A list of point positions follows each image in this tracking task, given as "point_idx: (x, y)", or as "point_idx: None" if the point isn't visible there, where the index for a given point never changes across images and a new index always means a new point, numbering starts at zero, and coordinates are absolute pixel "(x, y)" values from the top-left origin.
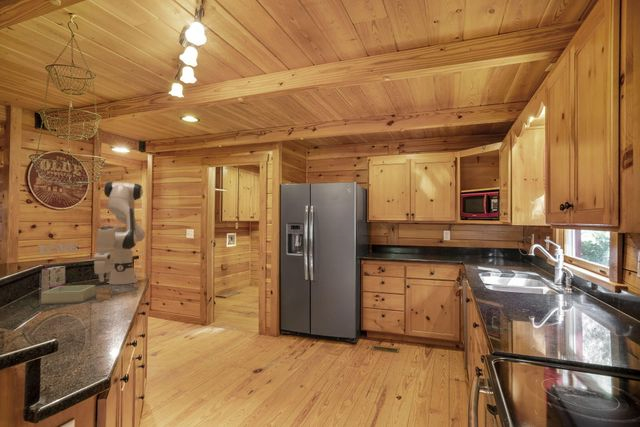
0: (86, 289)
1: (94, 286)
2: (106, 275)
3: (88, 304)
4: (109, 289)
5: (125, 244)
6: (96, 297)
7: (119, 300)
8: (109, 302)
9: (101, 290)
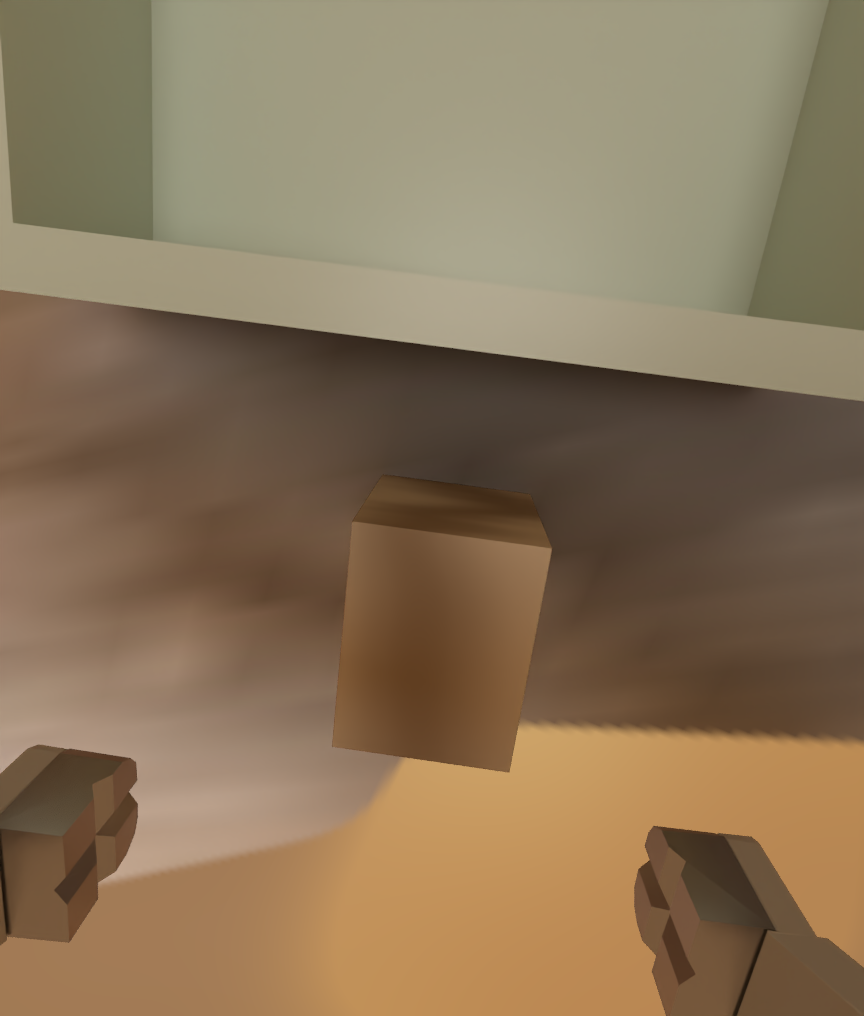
0: (238, 319)
1: (804, 393)
2: (780, 958)
3: (2, 440)
4: (366, 749)
5: None
6: (378, 482)
7: (195, 794)
8: (90, 694)
9: (346, 611)
